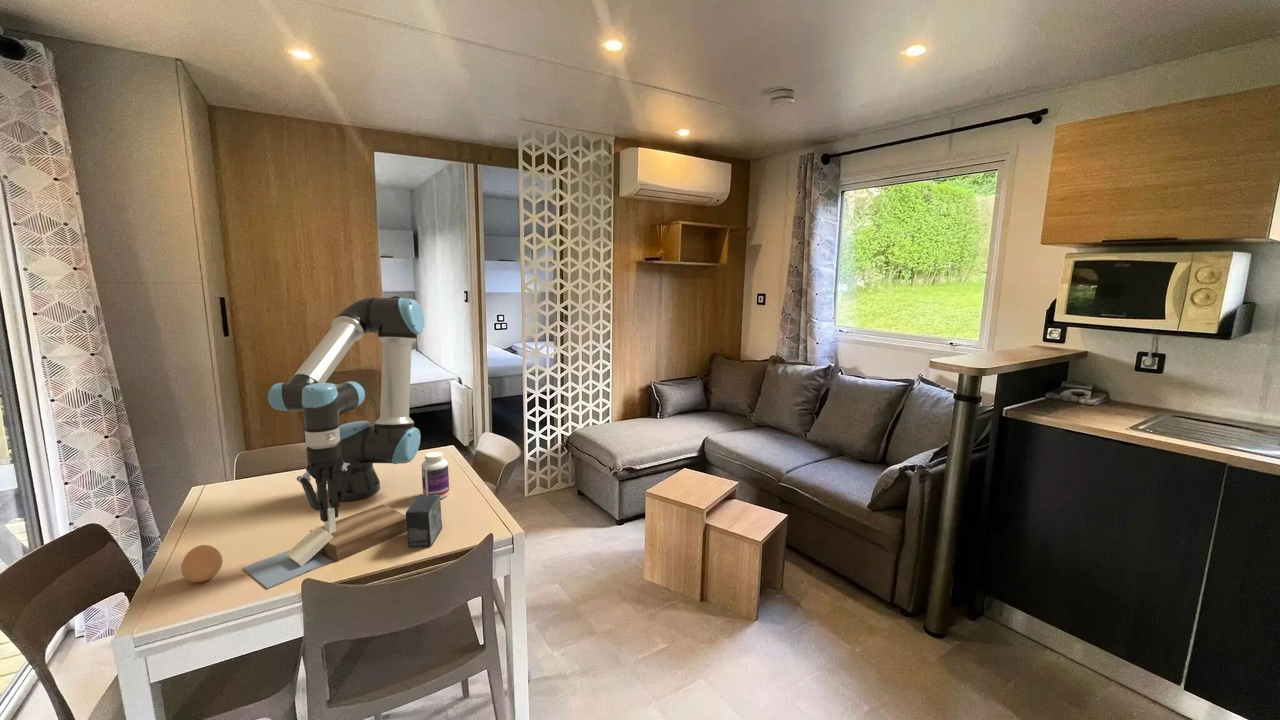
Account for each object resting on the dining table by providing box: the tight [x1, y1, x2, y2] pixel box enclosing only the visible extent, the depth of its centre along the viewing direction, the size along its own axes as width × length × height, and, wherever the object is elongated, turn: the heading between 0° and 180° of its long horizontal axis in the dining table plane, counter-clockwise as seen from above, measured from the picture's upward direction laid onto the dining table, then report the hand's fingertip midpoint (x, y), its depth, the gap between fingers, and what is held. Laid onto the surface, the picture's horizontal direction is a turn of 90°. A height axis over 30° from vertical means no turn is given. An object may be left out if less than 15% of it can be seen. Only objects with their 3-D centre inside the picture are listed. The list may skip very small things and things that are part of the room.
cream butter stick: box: [286, 525, 333, 566], centre depth 131 cm, size 6×9×2 cm
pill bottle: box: [420, 451, 450, 500], centre depth 168 cm, size 8×8×14 cm
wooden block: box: [309, 503, 407, 562], centre depth 142 cm, size 14×20×4 cm
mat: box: [242, 549, 332, 590], centre depth 128 cm, size 14×14×1 cm
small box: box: [405, 494, 443, 549], centre depth 142 cm, size 11×6×10 cm, turn 5°
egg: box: [180, 544, 223, 583], centre depth 121 cm, size 7×7×8 cm
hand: (330, 530), depth 135 cm, fingers closed
